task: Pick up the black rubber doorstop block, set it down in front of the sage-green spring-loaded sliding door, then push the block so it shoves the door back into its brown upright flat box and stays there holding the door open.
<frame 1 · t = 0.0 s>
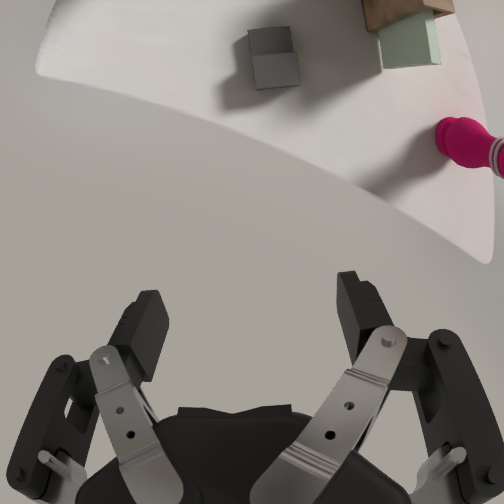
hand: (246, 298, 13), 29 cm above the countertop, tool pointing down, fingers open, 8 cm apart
doorstop block: (272, 59, 32), on the countertop
pepper mill: (450, 136, 35), on the countertop
brown upright flat box: (373, 1, 26), on the countertop
sliding door: (401, 19, 22), point 7 cm above the countertop, slide at 0.0 cm
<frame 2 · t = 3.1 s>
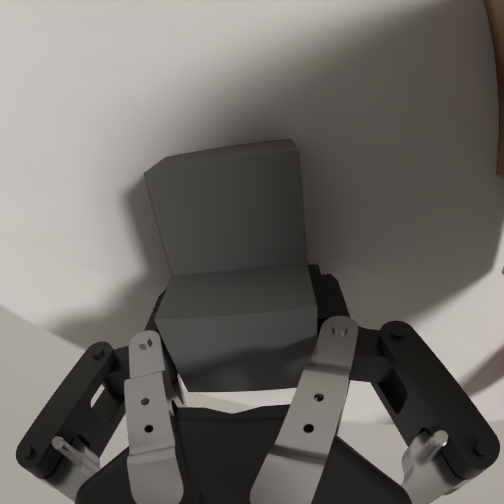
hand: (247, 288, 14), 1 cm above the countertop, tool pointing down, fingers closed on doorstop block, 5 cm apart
doorstop block: (241, 238, 13), on the countertop, touching gripper
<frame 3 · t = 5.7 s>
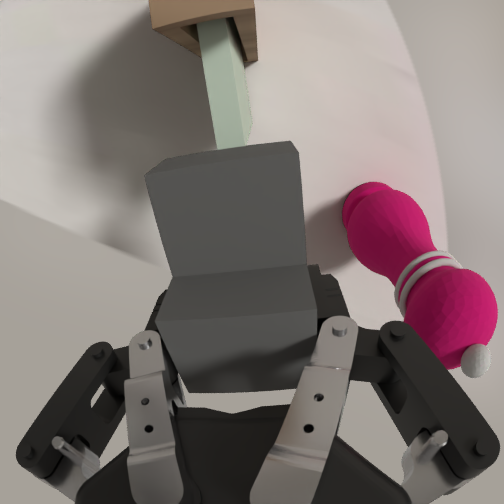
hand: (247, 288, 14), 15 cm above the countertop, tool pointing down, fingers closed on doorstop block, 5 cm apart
doorstop block: (241, 239, 13), point 15 cm above the countertop, touching gripper
pepper mill: (370, 210, 28), on the countertop
brown upright flat box: (228, 13, 19), on the countertop
sliding door: (226, 43, 15), point 7 cm above the countertop, slide at 0.0 cm
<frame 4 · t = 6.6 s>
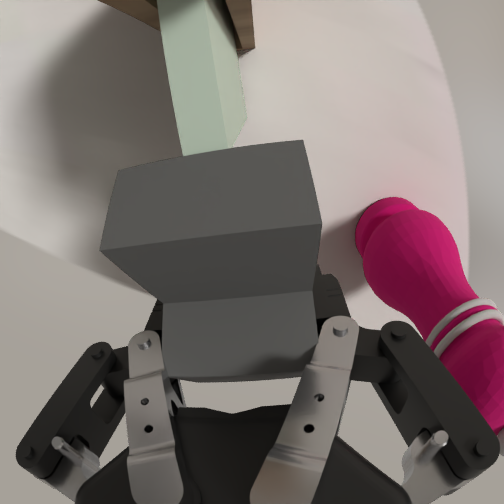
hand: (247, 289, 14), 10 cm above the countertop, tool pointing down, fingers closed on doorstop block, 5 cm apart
doorstop block: (232, 231, 11), point 11 cm above the countertop, tilted 33°, touching gripper, sliding door
pepper mill: (388, 230, 23), on the countertop
sliding door: (209, 11, 10), point 7 cm above the countertop, slide at 0.6 cm, touching doorstop block
when the fingers open (2 cm above the countertop, at t = 8.2 s): doorstop block drops 1 cm, point 2 cm above the countertop.
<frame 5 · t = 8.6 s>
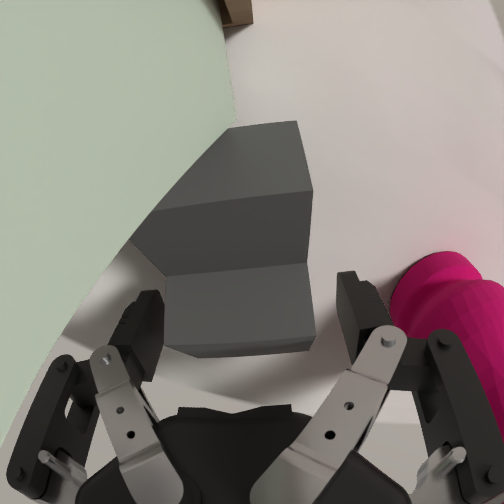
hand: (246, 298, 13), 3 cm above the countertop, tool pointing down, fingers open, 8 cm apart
doorstop block: (232, 209, 11), point 2 cm above the countertop, tilted 35°
pepper mill: (431, 291, 16), on the countertop
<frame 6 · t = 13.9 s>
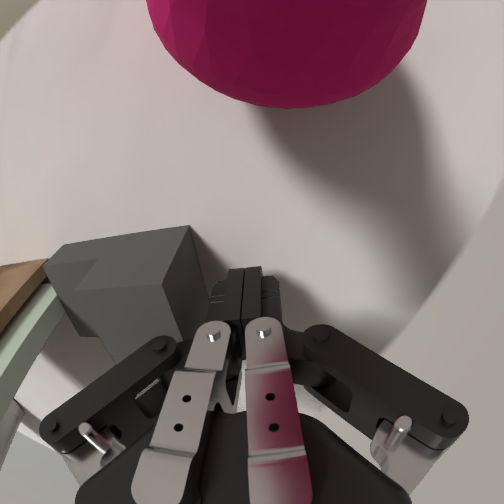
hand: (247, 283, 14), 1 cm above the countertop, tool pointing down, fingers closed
doorstop block: (133, 273, 16), on the countertop, touching gripper, sliding door
pepper mill: (276, 26, 10), on the countertop
brown upright flat box: (16, 286, 17), on the countertop
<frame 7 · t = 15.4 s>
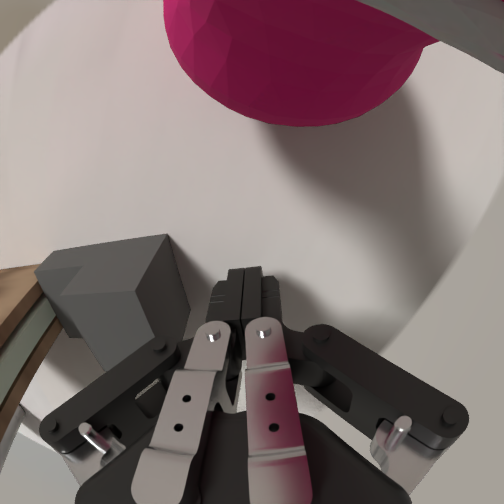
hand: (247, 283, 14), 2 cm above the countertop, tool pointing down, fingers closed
doorstop block: (118, 279, 17), on the countertop
pepper mill: (282, 41, 10), on the countertop
brown upright flat box: (21, 288, 17), on the countertop
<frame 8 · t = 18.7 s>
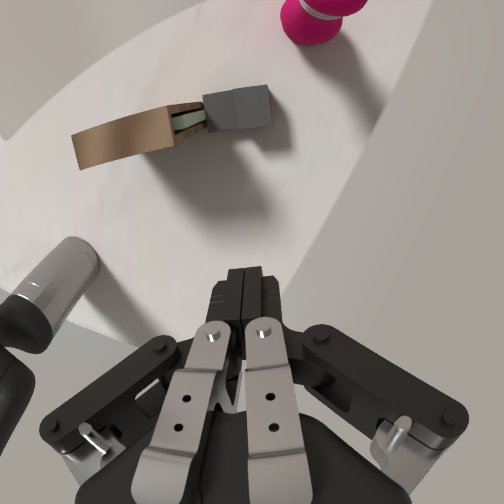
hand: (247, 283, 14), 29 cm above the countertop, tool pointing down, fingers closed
doorstop block: (238, 107, 36), on the countertop
pepper mill: (305, 25, 30), on the countertop
brown upright flat box: (168, 121, 37), on the countertop
sliding door: (147, 128, 31), point 7 cm above the countertop, slide at 4.9 cm
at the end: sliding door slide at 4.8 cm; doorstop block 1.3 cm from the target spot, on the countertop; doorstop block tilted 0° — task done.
